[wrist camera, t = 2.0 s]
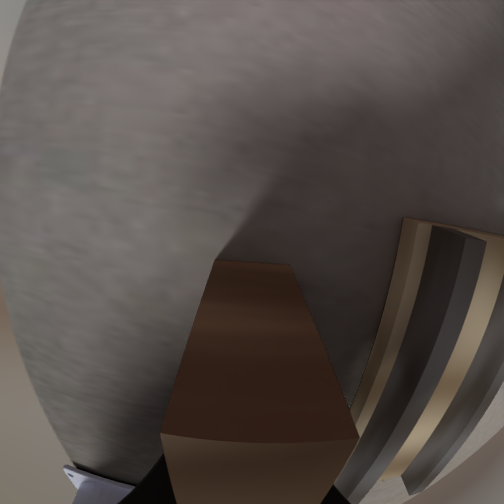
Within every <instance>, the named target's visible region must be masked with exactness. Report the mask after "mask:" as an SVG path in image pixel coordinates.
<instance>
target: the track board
mask: <svg viewBox="0 0 504 504" xmlns="http://www.w3.org/2000/svg"><path fill="white" fill-rule="evenodd" d="M503 381H504V236H502V235H497V234H492V233H487V232H483V231H478V230H473V229H468V228H462V227H457V226H452V225H446V224H441V223H435V222H429V221H423V220H417V219H411V218H405V217H403V223H402V229H401V235H400V241H399V246H398V251H397V256H396V261H395V266H394V270H393V275H392V279H391V283H390V287H389V291H388V295H387V299H386V303H385V307H384V311H383V314H382V318H381V321H380V325H379V328H378V332H377V335H376V338H375V342H374V345H373V348H372V351H371V354H370V357H369V360H368V363H367V366H366V369H365V372H364V374H363V377H362V380H361V383H360V385H359V388H358V391H357V393H356V396H355V398H354V401H353V403H352V406H351V408H350V413H351V415H352V418H353V421H354V423H355V426H356V429H357V431H358V434H359V436H360V439H359V441H358V442H357V444H356V446H355V448H354V450H353V452H352V453H351V455H350V457H349V459H348V460H347V462H346V464H345V466H344V467H343V469H342V471H341V472H340V474H339V476H338V477H337V479H336V480H335V482H334V486H335V487H336V488H337V489H338V490H339V491H340V493H341V494H342V495H343V496H344V497H345V498H346V499H347V500H348V501H349V502H350V503H351V504H358V503H359V502H360V501H361V500H362V499H363V498H364V496H365V495H366V494H367V493H368V492H369V490H370V489H371V488H372V487H373V485H374V484H375V483H376V482H377V481H380V480H385V479H389V478H393V477H397V476H401V477H402V479H403V482H404V484H405V487H406V489H407V491H408V494H409V496H410V495H413V494H416V493H419V492H422V491H423V490H424V489H425V488H426V487H427V486H428V485H429V484H430V483H431V482H432V481H433V480H434V478H435V477H436V476H437V475H438V474H439V473H440V472H441V471H442V469H443V468H444V467H445V466H446V465H447V464H448V462H449V461H450V460H451V459H452V457H453V456H454V455H455V454H456V453H457V451H458V450H459V449H460V447H461V446H462V445H463V443H464V442H465V441H466V439H467V438H468V437H469V435H470V434H471V432H472V431H473V430H474V428H475V427H476V425H477V424H478V422H479V421H480V419H481V418H482V416H483V415H484V413H485V412H486V410H487V408H488V407H489V405H490V404H491V402H492V400H493V399H494V397H495V395H496V394H497V392H498V390H499V388H500V386H501V385H502V383H503Z"/></svg>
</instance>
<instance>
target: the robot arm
mask: <svg viewBox="0 0 504 504" xmlns="http://www.w3.org/2000/svg"><path fill="white" fill-rule="evenodd" d="M63 470H64V472H65V473H66V474H67V476H68V477H69V479H70V480H71V481H72V483H73V484H74V485H75V487H76V488H77V489H78V491H77V494H76V496H75V498H74V501H73V503H72V504H177V502H176V499H175V495H174V492H173V488H172V484H171V480H170V476H169V472H168V468H167V464H166V460H165V455H164V453H163V455H162V456H161V457H160V459H159V460H158V461H157V463H156V464H155V465H154V466H153V468H152V469H151V470H150V471H149V473H148V474H147V475H146V476H145V477H144V478H143V480H142V481H141V482H140V483H139V484H138V485H137V486H136V487H135V486H131V485H127V484H123V483H120V482H116V481H113V480H109V479H106V478H103V477H100V476H97V475H94V474H91V473H88V472H85V471H82V470H79V469H77V468H74V467H71V466H69V465H64V467H63ZM320 504H351V503H350V502H349V501H348V500H347V499H346V498H345V497H344V496H343V495H342V494H341V493H340V491H339V490H338V489H337V488H336V487H335V486H334V484H333V485H332V487H331V488H330V490H329V491H328V493H327V494H326V496H325V497H324V499H323V500H322V502H321V503H320Z"/></svg>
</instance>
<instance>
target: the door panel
mask: <svg viewBox="0 0 504 504" xmlns="http://www.w3.org/2000/svg"><path fill="white" fill-rule="evenodd" d="M160 436H161V441H162V446H163V451H164V455H165V460H166V464H167V468H168V472H169V476H170V480H171V484H172V488H173V492H174V495H175V499H176V502H177V504H320V503H321V502H322V500H323V499H324V497H325V496H326V494H327V493H328V491H329V490H330V488H331V487H332V485H333V484H334V482H335V480H336V479H337V477H338V476H339V474H340V472H341V471H342V469H343V467H344V466H345V464H346V462H347V460H348V459H349V457H350V455H351V453H352V452H353V450H354V448H355V446H356V444H357V442H358V441H359V439H360V436H359V434H358V431H357V429H356V426H355V423H354V421H353V418H352V415H351V413H350V410H349V408H348V405H347V403H346V400H345V397H344V395H343V392H342V390H341V387H340V385H339V382H338V380H337V377H336V375H335V372H334V370H333V367H332V365H331V362H330V360H329V357H328V355H327V352H326V350H325V348H324V345H323V343H322V340H321V338H320V335H319V333H318V331H317V328H316V326H315V323H314V321H313V319H312V316H311V314H310V311H309V309H308V307H307V304H306V302H305V300H304V297H303V295H302V293H301V290H300V288H299V286H298V283H297V281H296V279H295V276H294V274H293V272H292V269H291V267H290V265H282V264H269V263H256V262H244V261H231V260H219V259H215V261H214V264H213V267H212V270H211V273H210V275H209V278H208V281H207V284H206V287H205V290H204V293H203V296H202V299H201V302H200V305H199V308H198V311H197V314H196V317H195V320H194V323H193V326H192V330H191V333H190V336H189V339H188V342H187V345H186V348H185V351H184V355H183V358H182V361H181V364H180V367H179V371H178V374H177V377H176V380H175V384H174V387H173V390H172V393H171V397H170V400H169V403H168V407H167V410H166V414H165V417H164V420H163V424H162V427H161V431H160Z"/></svg>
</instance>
